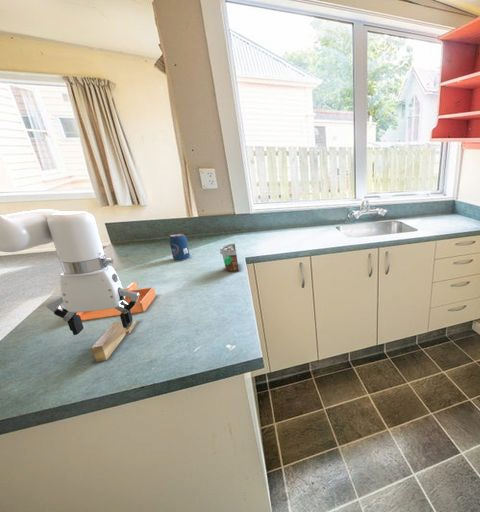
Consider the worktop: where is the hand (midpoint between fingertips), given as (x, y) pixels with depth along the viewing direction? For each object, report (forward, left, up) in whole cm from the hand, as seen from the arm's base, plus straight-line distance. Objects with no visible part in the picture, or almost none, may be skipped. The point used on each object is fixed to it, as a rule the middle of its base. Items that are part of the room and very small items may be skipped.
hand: (103, 328), depth 75 cm
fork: (+1, +3, -5) cm, 6 cm away
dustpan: (-6, +30, -5) cm, 31 cm away
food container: (+25, +52, -6) cm, 58 cm away
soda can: (+2, +76, -6) cm, 76 cm away
